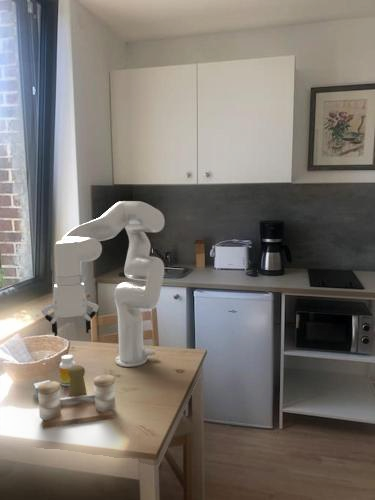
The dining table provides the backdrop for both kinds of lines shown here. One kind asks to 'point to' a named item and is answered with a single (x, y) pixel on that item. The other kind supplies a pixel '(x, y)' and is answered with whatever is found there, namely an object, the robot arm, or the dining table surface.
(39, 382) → the grey rectangular block
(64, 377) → the supplement bottle
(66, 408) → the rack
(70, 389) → the cork
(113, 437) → the dining table surface
